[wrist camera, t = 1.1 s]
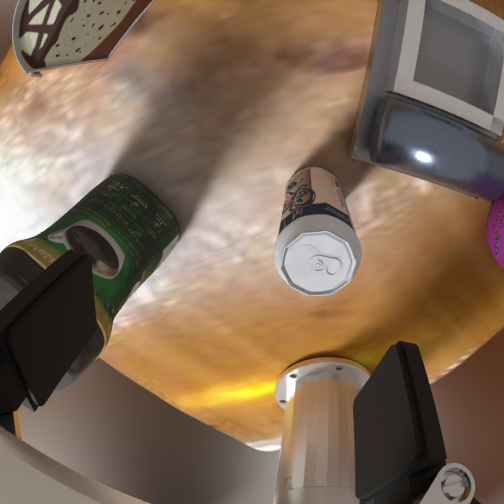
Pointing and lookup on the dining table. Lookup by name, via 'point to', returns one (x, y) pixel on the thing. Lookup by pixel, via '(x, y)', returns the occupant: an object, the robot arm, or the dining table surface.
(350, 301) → the dining table surface
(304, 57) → the dining table surface
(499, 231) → the christmas ornament
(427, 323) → the dining table surface
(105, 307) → the coffee jar
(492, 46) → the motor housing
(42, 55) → the food container
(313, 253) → the beer can
